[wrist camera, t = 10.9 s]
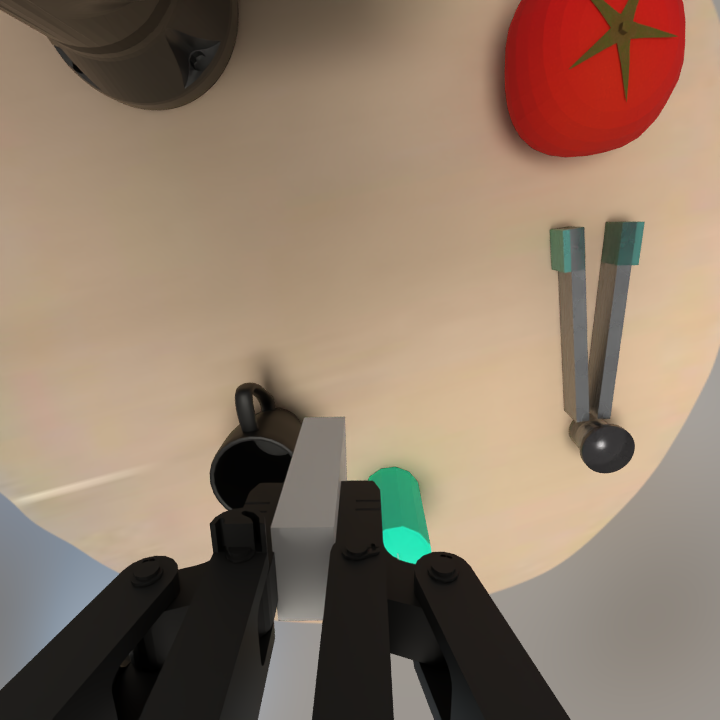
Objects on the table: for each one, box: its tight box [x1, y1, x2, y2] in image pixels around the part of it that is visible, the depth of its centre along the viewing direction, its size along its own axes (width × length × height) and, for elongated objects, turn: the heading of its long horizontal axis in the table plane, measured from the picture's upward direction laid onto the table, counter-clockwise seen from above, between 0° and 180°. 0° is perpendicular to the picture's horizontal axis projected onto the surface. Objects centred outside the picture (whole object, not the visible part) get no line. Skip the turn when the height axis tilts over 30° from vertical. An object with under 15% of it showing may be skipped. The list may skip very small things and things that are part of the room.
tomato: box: [505, 0, 685, 157], centre depth 35 cm, size 12×13×11 cm
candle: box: [368, 467, 431, 564], centre depth 46 cm, size 6×6×12 cm
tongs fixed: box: [569, 222, 644, 473], centre depth 45 cm, size 23×5×5 cm, turn 1°
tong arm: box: [550, 227, 589, 422], centre depth 45 cm, size 18×2×3 cm, turn 9°
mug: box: [210, 383, 302, 511], centre depth 45 cm, size 8×12×10 cm
